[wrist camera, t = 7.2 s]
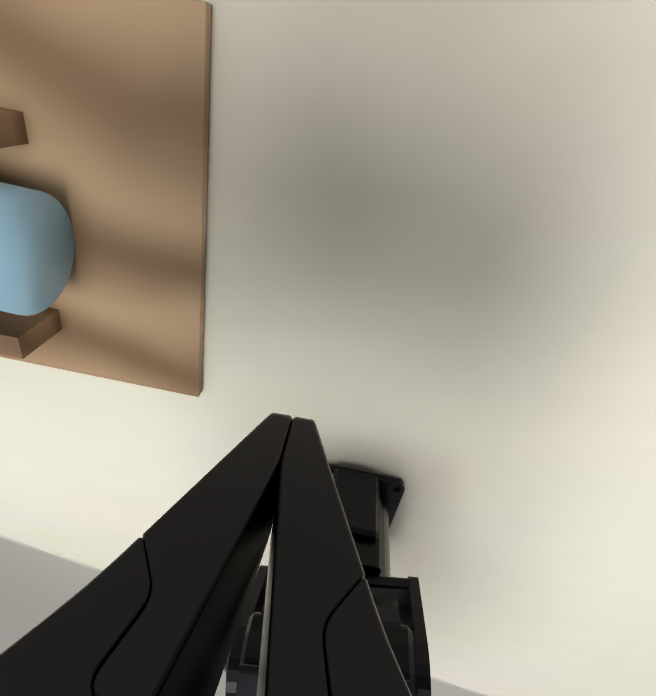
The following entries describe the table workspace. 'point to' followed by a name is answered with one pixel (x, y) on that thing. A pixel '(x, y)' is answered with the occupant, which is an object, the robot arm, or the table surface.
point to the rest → (113, 180)
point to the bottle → (32, 250)
